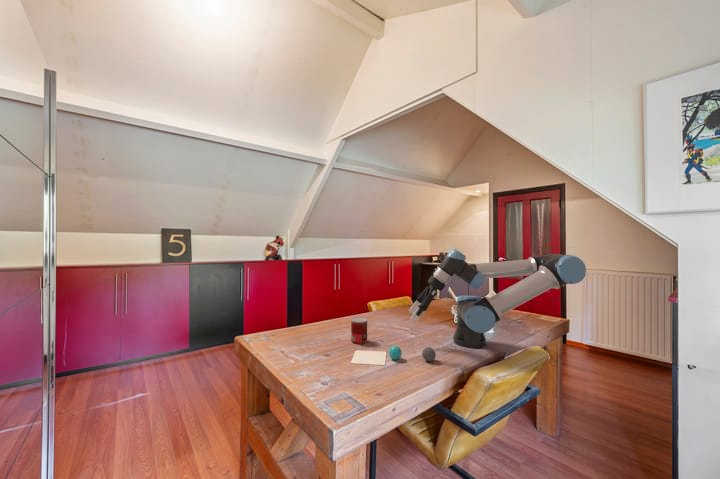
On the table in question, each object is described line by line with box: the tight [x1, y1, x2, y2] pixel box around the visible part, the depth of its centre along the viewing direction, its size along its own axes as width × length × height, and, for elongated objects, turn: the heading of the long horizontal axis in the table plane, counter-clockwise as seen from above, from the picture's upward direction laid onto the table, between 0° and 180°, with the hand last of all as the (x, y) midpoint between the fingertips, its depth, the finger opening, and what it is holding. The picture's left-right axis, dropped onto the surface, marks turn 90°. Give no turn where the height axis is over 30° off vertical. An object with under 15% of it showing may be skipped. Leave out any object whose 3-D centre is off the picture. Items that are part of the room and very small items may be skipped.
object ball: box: [388, 345, 403, 361], centre depth 126 cm, size 6×6×6 cm
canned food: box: [350, 317, 368, 345], centre depth 147 cm, size 8×8×11 cm
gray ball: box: [421, 347, 437, 362], centre depth 124 cm, size 6×6×6 cm
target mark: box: [350, 350, 387, 366], centre depth 127 cm, size 14×14×1 cm
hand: (411, 316), depth 136 cm, fingers open, 13 cm apart
